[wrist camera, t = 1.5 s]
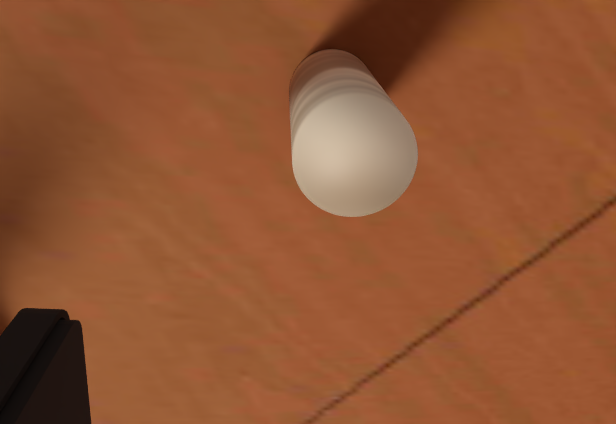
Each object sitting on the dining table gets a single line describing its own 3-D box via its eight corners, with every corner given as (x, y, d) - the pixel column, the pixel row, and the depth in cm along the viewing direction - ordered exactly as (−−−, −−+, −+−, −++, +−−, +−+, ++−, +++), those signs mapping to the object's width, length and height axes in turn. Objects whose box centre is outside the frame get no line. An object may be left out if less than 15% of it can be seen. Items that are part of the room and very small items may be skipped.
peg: (290, 46, 27) (295, 93, 18) (377, 51, 27) (425, 99, 18) (287, 131, 29) (289, 214, 19) (369, 135, 29) (409, 218, 20)
